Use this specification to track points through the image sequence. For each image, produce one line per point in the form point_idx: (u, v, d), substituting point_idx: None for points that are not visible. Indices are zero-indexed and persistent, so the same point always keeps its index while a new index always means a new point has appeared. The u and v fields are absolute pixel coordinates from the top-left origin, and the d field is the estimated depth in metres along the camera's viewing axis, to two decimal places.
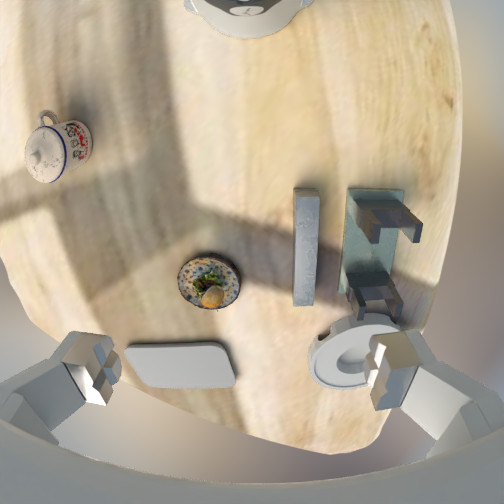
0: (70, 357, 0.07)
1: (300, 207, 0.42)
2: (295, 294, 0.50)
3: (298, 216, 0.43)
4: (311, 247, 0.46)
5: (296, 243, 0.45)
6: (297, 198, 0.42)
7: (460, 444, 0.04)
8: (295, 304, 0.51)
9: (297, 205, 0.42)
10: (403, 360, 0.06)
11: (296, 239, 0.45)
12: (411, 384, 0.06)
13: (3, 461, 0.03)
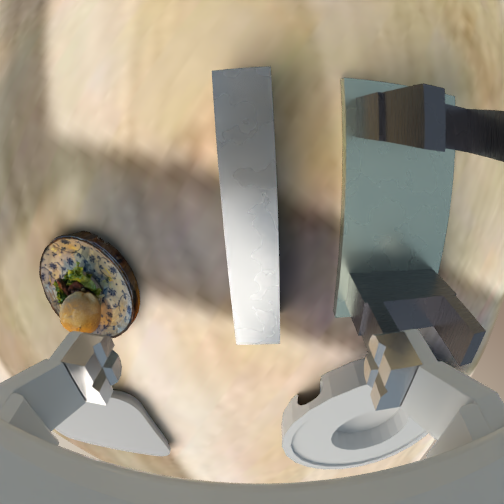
0: (70, 357, 0.07)
1: (224, 93, 0.16)
2: (236, 319, 0.22)
3: (222, 117, 0.16)
4: (263, 199, 0.18)
5: (222, 188, 0.18)
6: (215, 73, 0.15)
7: (460, 444, 0.04)
8: (239, 340, 0.23)
9: (216, 89, 0.16)
10: (403, 360, 0.06)
11: (221, 178, 0.18)
12: (411, 384, 0.06)
13: (3, 461, 0.03)
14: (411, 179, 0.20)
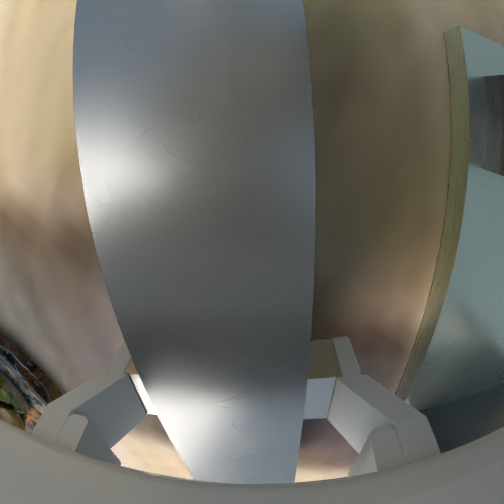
0: None
1: (109, 16, 0.03)
2: None
3: (96, 104, 0.03)
4: (262, 382, 0.05)
5: (135, 348, 0.05)
6: None
7: (369, 471, 0.04)
8: None
9: (86, 9, 0.03)
10: (320, 370, 0.07)
11: (124, 323, 0.05)
12: (333, 396, 0.07)
13: (3, 461, 0.03)
14: None
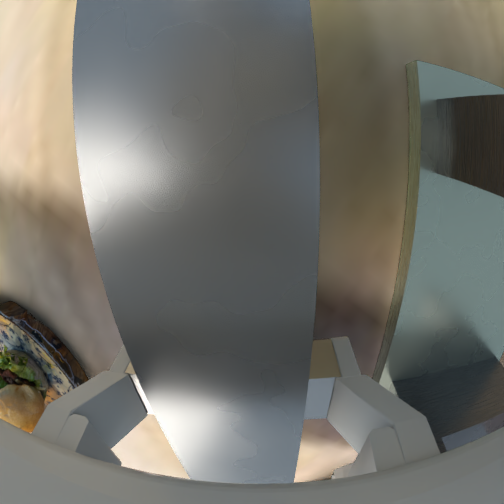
0: None
1: (110, 11, 0.03)
2: None
3: (97, 102, 0.03)
4: (262, 386, 0.05)
5: (133, 351, 0.05)
6: None
7: (368, 471, 0.04)
8: None
9: (87, 5, 0.03)
10: (319, 370, 0.07)
11: (122, 325, 0.05)
12: (332, 396, 0.07)
13: (3, 461, 0.03)
14: (499, 243, 0.10)
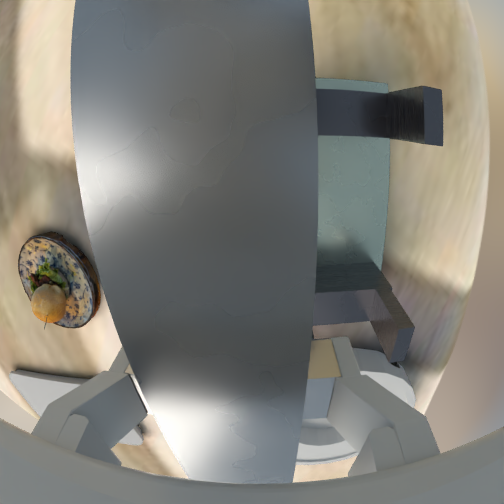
0: None
1: (108, 12, 0.03)
2: None
3: (94, 104, 0.03)
4: (261, 388, 0.05)
5: (132, 352, 0.05)
6: None
7: (368, 471, 0.04)
8: None
9: (86, 6, 0.03)
10: (319, 370, 0.07)
11: (121, 326, 0.05)
12: (332, 396, 0.07)
13: (3, 461, 0.03)
14: (339, 172, 0.22)
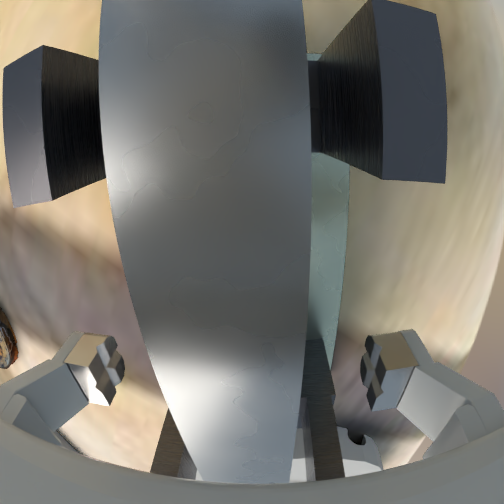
0: (73, 358, 0.07)
1: (132, 25, 0.04)
2: None
3: (121, 105, 0.04)
4: (263, 359, 0.06)
5: (146, 327, 0.06)
6: None
7: (456, 446, 0.04)
8: None
9: (111, 18, 0.03)
10: (399, 361, 0.06)
11: (137, 302, 0.06)
12: (407, 385, 0.06)
13: (3, 461, 0.03)
14: None
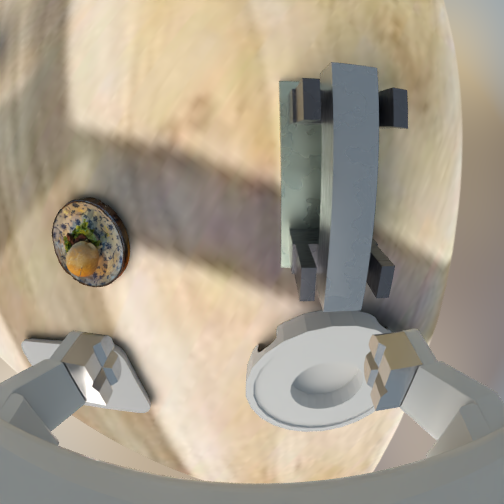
0: (70, 357, 0.07)
1: (341, 83, 0.18)
2: (328, 285, 0.24)
3: (339, 102, 0.18)
4: (366, 175, 0.20)
5: (335, 162, 0.20)
6: (334, 64, 0.17)
7: (460, 444, 0.04)
8: (327, 308, 0.24)
9: (335, 78, 0.17)
10: (403, 360, 0.06)
11: (335, 153, 0.20)
12: (411, 384, 0.06)
13: (3, 461, 0.03)
14: None
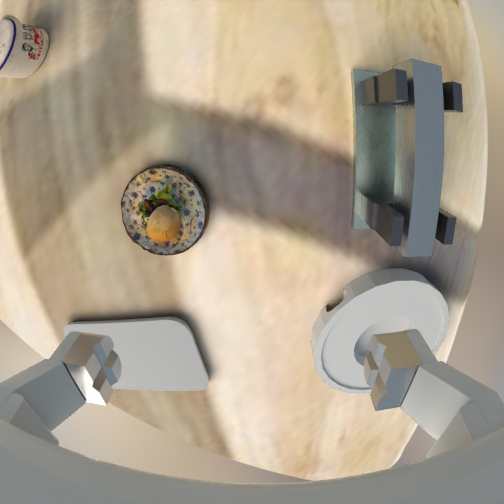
0: (70, 357, 0.07)
1: (418, 75, 0.20)
2: (410, 233, 0.26)
3: (417, 89, 0.21)
4: (436, 145, 0.23)
5: (416, 133, 0.23)
6: (413, 61, 0.20)
7: (460, 444, 0.04)
8: (407, 253, 0.27)
9: (414, 71, 0.20)
10: (403, 360, 0.06)
11: (416, 127, 0.22)
12: (411, 384, 0.06)
13: (3, 461, 0.03)
14: None
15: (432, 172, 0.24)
